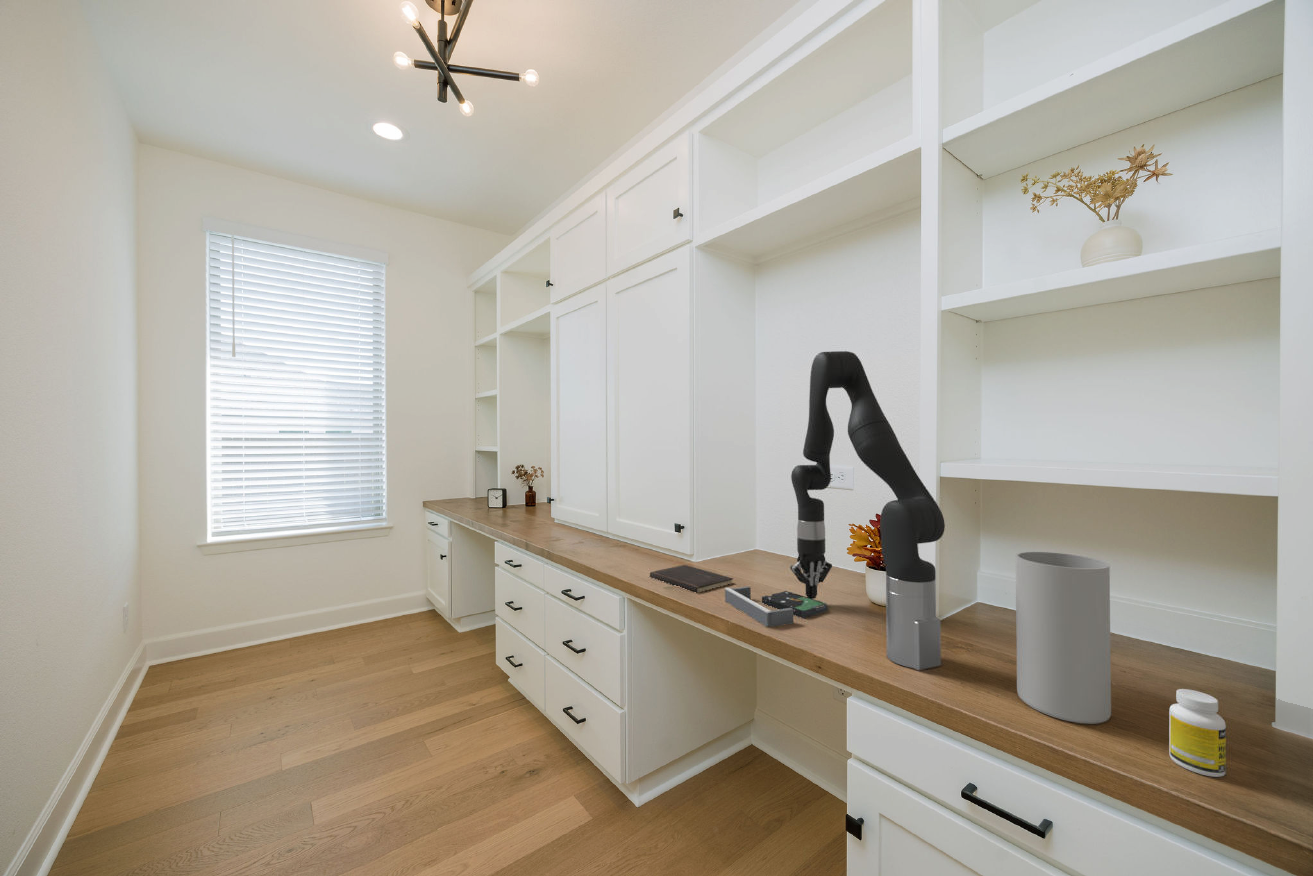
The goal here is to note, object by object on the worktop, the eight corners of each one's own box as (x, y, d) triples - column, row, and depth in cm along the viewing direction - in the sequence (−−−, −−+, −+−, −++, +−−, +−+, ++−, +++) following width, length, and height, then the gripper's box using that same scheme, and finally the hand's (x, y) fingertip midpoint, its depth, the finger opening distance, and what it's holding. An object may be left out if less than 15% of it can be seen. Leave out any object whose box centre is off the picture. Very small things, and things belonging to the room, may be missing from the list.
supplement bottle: (1230, 784, 66) (1229, 710, 66) (1171, 766, 70) (1170, 696, 70) (1222, 764, 70) (1221, 694, 70) (1167, 748, 74) (1166, 682, 74)
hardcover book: (684, 571, 178) (684, 564, 178) (733, 585, 160) (733, 578, 160) (649, 579, 168) (649, 572, 168) (696, 595, 150) (696, 587, 150)
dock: (793, 623, 125) (793, 608, 125) (767, 627, 123) (767, 611, 123) (748, 598, 145) (748, 585, 145) (725, 601, 143) (725, 588, 143)
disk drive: (761, 606, 141) (803, 621, 128) (760, 596, 141) (803, 610, 129) (786, 600, 147) (829, 613, 134) (785, 590, 147) (828, 602, 134)
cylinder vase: (1023, 681, 95) (1021, 548, 95) (1112, 704, 86) (1110, 559, 86) (1011, 706, 86) (1009, 560, 86) (1109, 736, 77) (1107, 573, 77)
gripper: (799, 540, 135) (799, 605, 135) (839, 536, 139) (839, 599, 139) (783, 535, 142) (783, 596, 142) (821, 532, 146) (822, 591, 146)
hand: (811, 597), depth 140 cm, fingers closed
